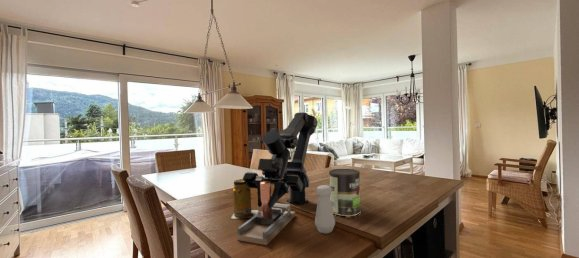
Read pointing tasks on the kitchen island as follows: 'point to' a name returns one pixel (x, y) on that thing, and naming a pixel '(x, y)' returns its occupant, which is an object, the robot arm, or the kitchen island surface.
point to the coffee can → (345, 191)
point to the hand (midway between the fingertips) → (264, 206)
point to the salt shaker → (324, 210)
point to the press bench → (265, 227)
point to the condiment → (242, 200)
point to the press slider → (267, 206)
